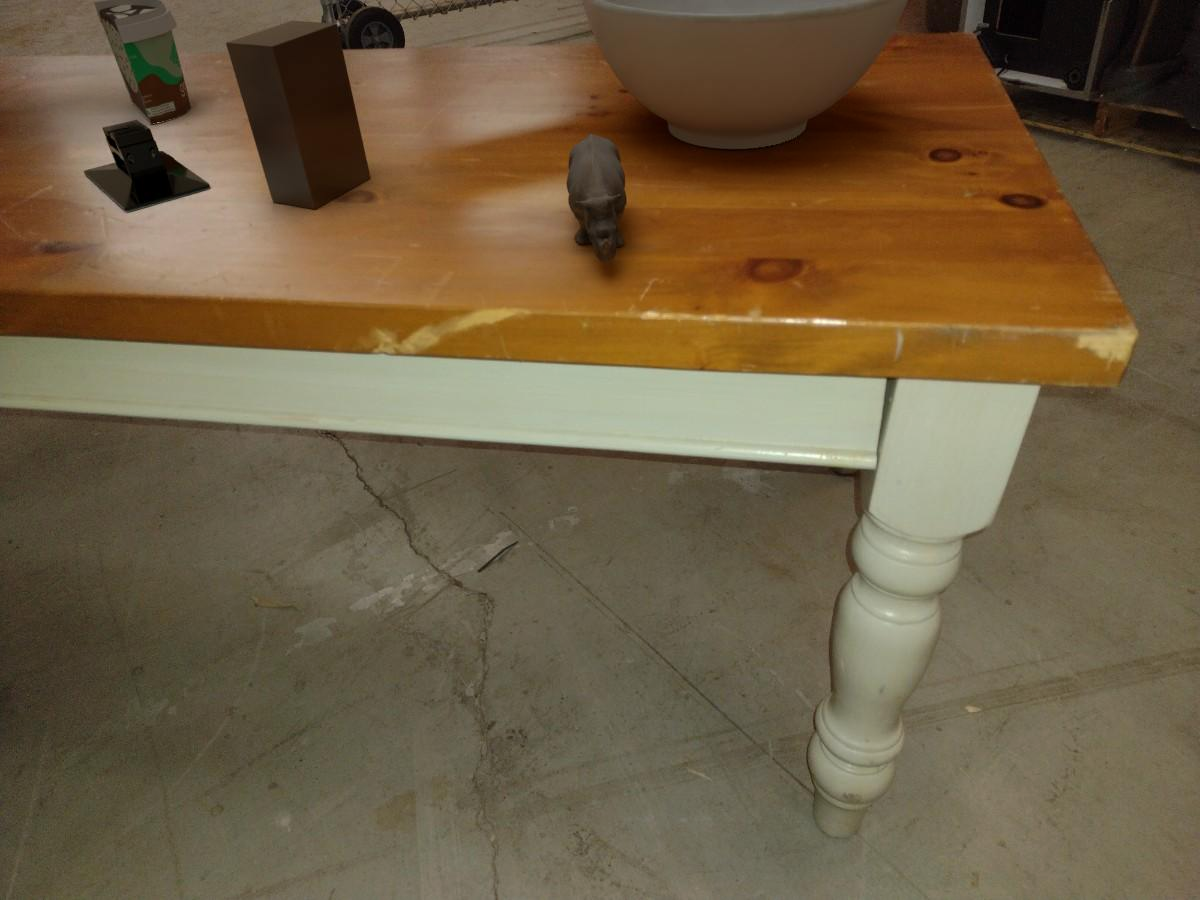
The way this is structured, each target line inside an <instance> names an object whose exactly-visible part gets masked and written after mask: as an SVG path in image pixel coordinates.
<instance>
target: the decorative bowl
mask: <svg viewBox="0 0 1200 900" xmlns="http://www.w3.org/2000/svg"><path fill="white" fill-rule="evenodd" d="M581 1H582V6H583V9H584V13H585V15H586V19H587V21H588V24H589V26H590V29H591V32H592V35H593V38H594V39H595V42H596V44H597V46H598V48H599V50H600V52H601V54H602V56H603V57H604V59H605V61H606V62H607V64H608V66H609V67H610V69H611V70H612V72H613V74H614V75H615V76H616V79H618V81H619V83H621V84H622V85H623V87H624V88H625V90H627V91H628V92H629V94H630V95H631V96H632V97H633V98H634V99H635V100H636V101H637V102H639V103H640V104H641V105H642V106H643V107H644V108H646V109H647V110H649V111H650V112H651V113H653V114H654V115H656V116H658V117H659V118H661V119H662V120H665V121H666V122H667V128H668V132H669V133H670V134H671V135H672V136H673V137H674V138H676V139H678V140H680V141H681V142H684V143H687V144H690V145H693V146H698V147H703V148H710V149H719V150H750V148H751V150H752V149H759V147H761V148H767V147H766V146H768V147H772V146H771V145H773V146H777V145H781V144H783V143H782V142H784V143H786V142H785V141H787V142H789V141H788V140H790V141H792V140H794V139H796V138H797V136H798V135H799V136H801V135H802V134H803V133H804V132H805V130H806V127H807V124H808V120H810V119H812V118H814V117H816V116H818V115H819V114H821V113H823V112H824V111H826V110H827V109H829V108H830V107H832V106H834V104H836V103H837V102H838V101H839V100H841V99H842V98H843V97H844V96H845V95H846V94H848V93H849V92H850V91H851V90H852V89H853V88H854V87H855V86H856V85H857V84H858V82H859V81H860V80H861V79H862V78H863V77H864V76H865V75H866V73H868V71H869V70H870V68H871V67H872V66H873V64H875V62H876V60H877V59H878V58H879V56H880V54H881V53H882V51H883V50H884V48H885V47H886V45H887V44H888V42H889V40H890V38H891V37H892V35H893V33H894V31H895V30H896V27H897V25H898V23H899V21H900V19H901V17H902V15H903V13H904V11H905V8H906V6H907V4H908V1H909V0H581ZM803 131H804V132H803ZM802 132H803V133H802ZM801 133H802V134H801ZM800 134H801V135H800ZM799 136H798V137H799ZM795 137H796V138H795ZM793 138H794V139H793ZM791 139H792V140H791ZM780 143H781V144H780ZM776 144H777V145H776Z"/></svg>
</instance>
